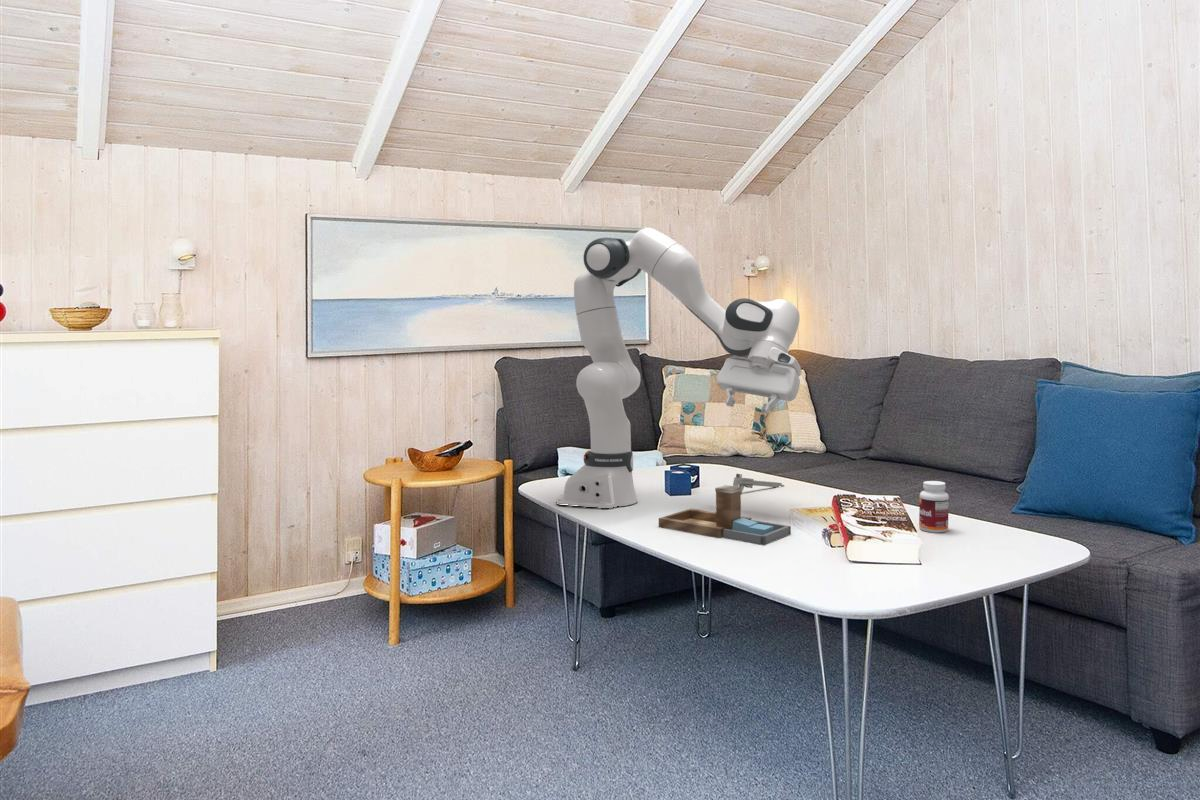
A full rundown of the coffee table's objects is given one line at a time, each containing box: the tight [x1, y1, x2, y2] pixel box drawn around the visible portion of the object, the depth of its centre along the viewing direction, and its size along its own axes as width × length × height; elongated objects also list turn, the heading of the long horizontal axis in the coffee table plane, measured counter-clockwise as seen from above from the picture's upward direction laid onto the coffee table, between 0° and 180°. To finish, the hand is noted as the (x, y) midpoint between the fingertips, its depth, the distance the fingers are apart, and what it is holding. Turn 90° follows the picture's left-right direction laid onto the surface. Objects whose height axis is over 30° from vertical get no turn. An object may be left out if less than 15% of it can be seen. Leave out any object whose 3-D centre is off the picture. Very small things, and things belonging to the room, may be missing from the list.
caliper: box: [732, 473, 785, 495], centre depth 231 cm, size 20×1×6 cm, turn 125°
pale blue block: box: [732, 518, 758, 533], centre depth 177 cm, size 4×4×3 cm
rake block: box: [714, 484, 742, 530], centre depth 179 cm, size 4×4×10 cm
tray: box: [722, 519, 792, 546], centre depth 175 cm, size 10×12×3 cm
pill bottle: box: [918, 480, 950, 534], centre depth 181 cm, size 6×6×11 cm
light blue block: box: [748, 524, 774, 535], centre depth 174 cm, size 4×4×3 cm
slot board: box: [658, 508, 752, 539], centre depth 184 cm, size 17×13×3 cm
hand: (746, 408), depth 190 cm, fingers open, 8 cm apart
